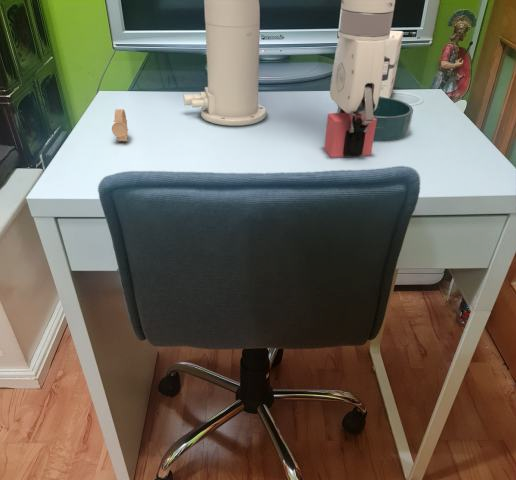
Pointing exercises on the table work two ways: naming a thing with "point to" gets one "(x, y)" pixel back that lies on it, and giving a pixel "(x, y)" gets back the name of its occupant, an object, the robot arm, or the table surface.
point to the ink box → (390, 62)
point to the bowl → (391, 119)
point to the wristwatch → (120, 125)
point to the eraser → (337, 132)
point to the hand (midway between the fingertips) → (347, 148)
